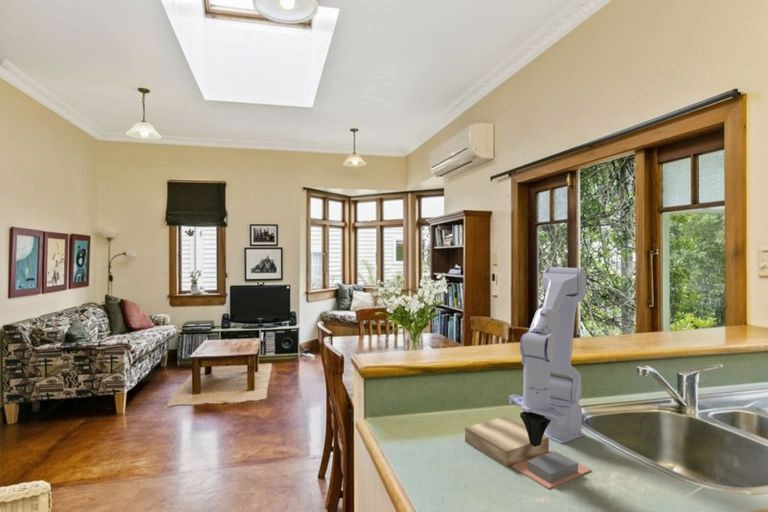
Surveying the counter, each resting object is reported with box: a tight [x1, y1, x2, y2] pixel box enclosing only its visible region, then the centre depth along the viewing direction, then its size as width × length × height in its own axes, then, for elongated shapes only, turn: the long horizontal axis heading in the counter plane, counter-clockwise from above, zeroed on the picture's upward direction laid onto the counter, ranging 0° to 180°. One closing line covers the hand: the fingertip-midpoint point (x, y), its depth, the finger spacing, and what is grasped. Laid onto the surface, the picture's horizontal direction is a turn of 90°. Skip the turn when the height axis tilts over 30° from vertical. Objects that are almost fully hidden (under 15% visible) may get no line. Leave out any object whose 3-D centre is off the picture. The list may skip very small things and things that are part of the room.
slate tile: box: [528, 450, 579, 484], centre depth 94 cm, size 9×6×2 cm, turn 120°
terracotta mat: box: [510, 450, 592, 490], centre depth 95 cm, size 14×10×1 cm
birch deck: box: [464, 416, 550, 467], centre depth 106 cm, size 14×14×4 cm
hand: (535, 444), depth 98 cm, fingers closed
